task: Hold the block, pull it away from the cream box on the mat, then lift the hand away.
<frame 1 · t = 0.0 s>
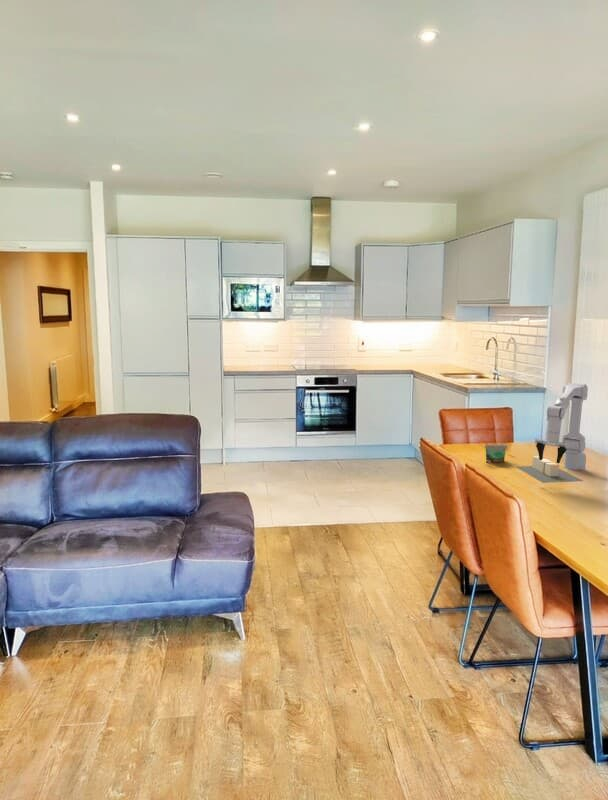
hand: (549, 461, 251), 11 cm above the table, tool pointing down, fingers open, 7 cm apart
cream box: (541, 470, 271), resting on mat
food container: (497, 463, 286), on the table
mat: (547, 475, 266), on the table
block: (551, 469, 263), point 4 cm above the table, slide at 0.0 cm
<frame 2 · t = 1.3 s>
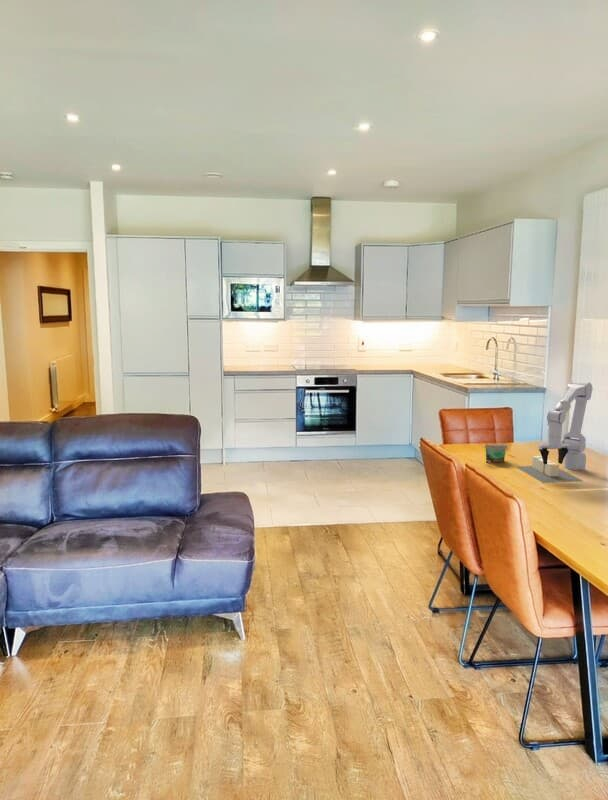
hand: (552, 463, 262), 7 cm above the table, tool pointing down, fingers open, 7 cm apart
nothing on the table moved.
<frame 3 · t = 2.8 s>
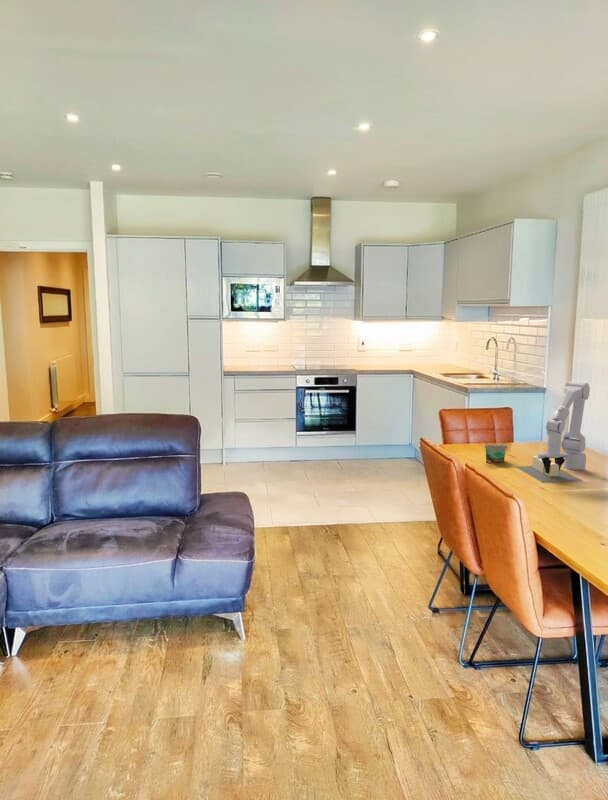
hand: (551, 472, 262), 2 cm above the table, tool pointing down, fingers closed on block, 4 cm apart
block: (551, 469, 263), point 4 cm above the table, slide at 0.0 cm, touching gripper
everything else where it was.
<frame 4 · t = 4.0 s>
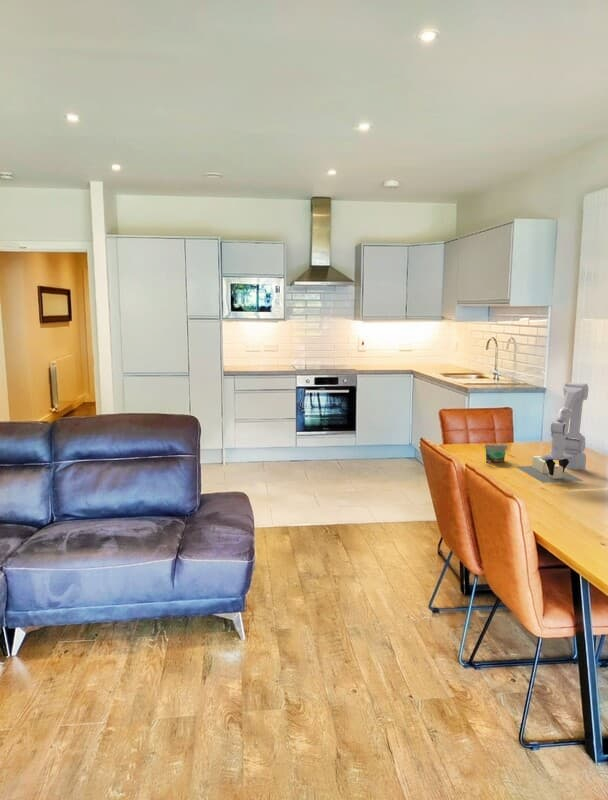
hand: (555, 474, 259), 2 cm above the table, tool pointing down, fingers closed on block, 4 cm apart
block: (555, 471, 259), point 4 cm above the table, slide at 3.3 cm, touching gripper
everything else where it was.
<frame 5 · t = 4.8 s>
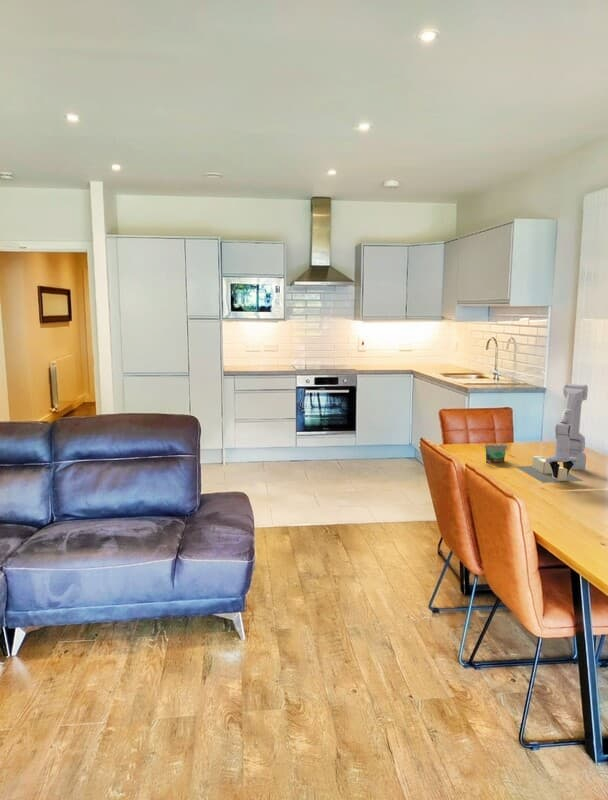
hand: (560, 477, 256), 2 cm above the table, tool pointing down, fingers closed on block, 4 cm apart
block: (559, 473, 256), point 4 cm above the table, slide at 6.9 cm, touching gripper
everything else where it was.
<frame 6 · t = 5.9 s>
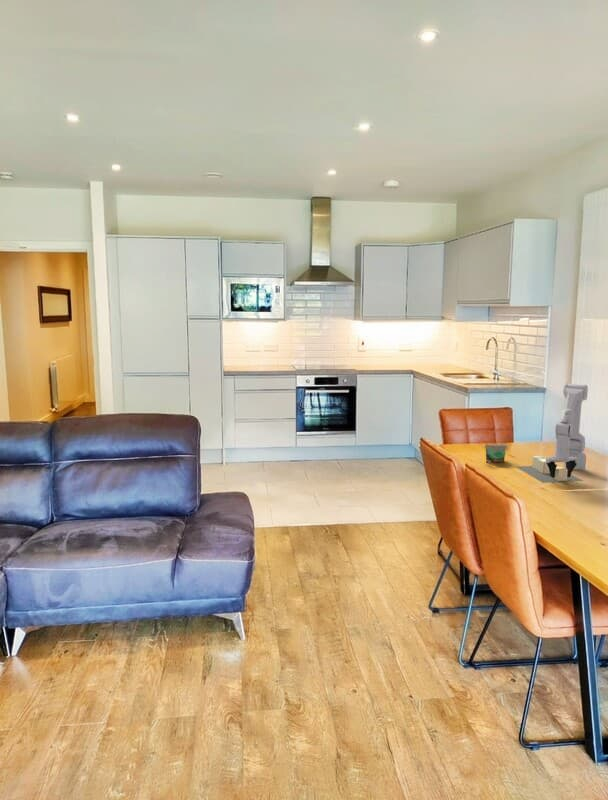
hand: (560, 477, 255), 2 cm above the table, tool pointing down, fingers open, 7 cm apart
block: (559, 473, 256), point 4 cm above the table, slide at 6.9 cm
everything else where it was.
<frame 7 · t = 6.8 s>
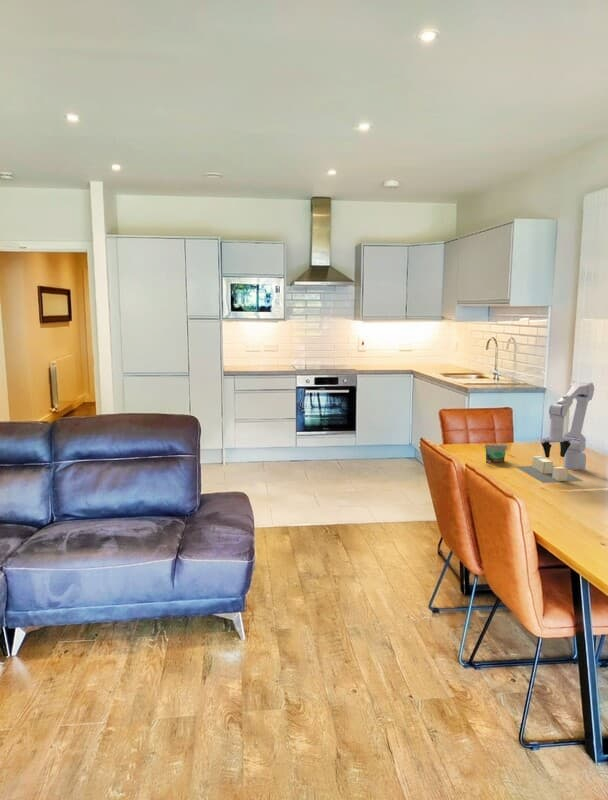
hand: (554, 457, 262), 10 cm above the table, tool pointing down, fingers open, 7 cm apart
nothing on the table moved.
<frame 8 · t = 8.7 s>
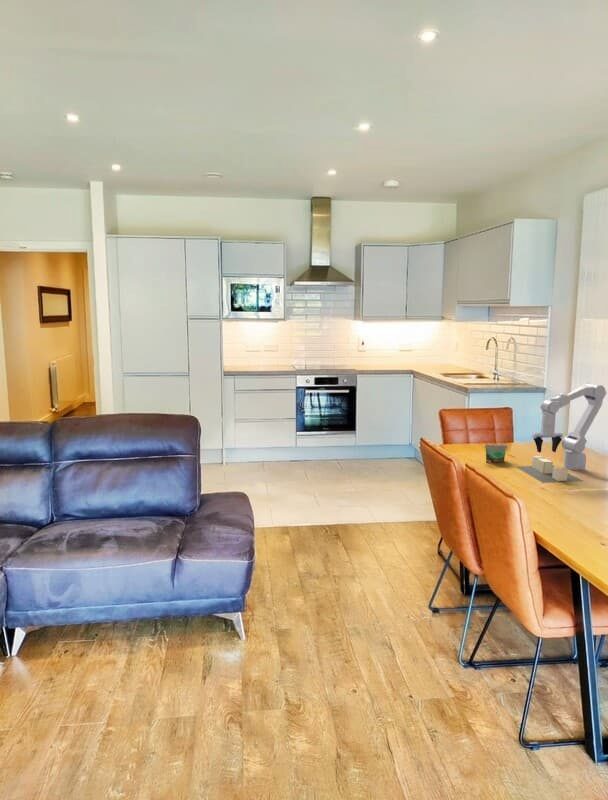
hand: (546, 451, 270), 10 cm above the table, tool pointing down, fingers open, 7 cm apart
nothing on the table moved.
at the end: block slide at 6.9 cm; the gripper is holding nothing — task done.
